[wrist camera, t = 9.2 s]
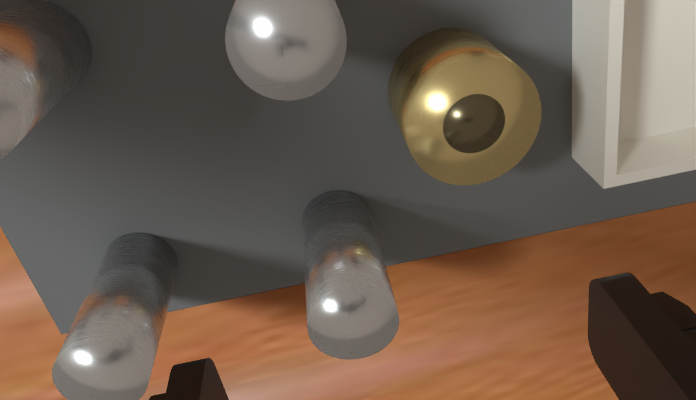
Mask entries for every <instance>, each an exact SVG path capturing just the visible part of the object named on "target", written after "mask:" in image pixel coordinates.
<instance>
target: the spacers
mask: <svg viewBox="0 0 696 400" xmlns="http://www.w3.org/2000/svg"><path fill="white" fill-rule="evenodd" d="M225 44H226V51H227V55H228V58H229V61H230V63H231V65H232V67H233V69H234V71H235V72H236V74H237V75H238V77H239V78H240V79H241V80H242V81H243V82H244V83H245V84H246V85H247V86H248V87H249V88H251V89H252V90H254V91H255V92H257V93H259V94H261V95H263V96H266V97H268V98H272V99H276V100H284V101H292V100H299V99H303V98H307V97H309V96H312V95H314V94H316V93H318V92H319V91H321V90H322V89H324V88H325V87H326V86H327V85H328V84H329V83H330V82H331V81H332V80H333V79H334V78H335V76H336V75H337V73H338V72H339V70H340V68H341V66H342V64H343V61H344V58H345V54H346V47H347V36H346V29H345V25H344V22H343V19H342V17H341V14H340V12H339V9H338V7H337V4H336V2H335V0H235V2H234V5H233V8H232V10H231V13H230V16H229V19H228V22H227V26H226V32H225ZM91 58H92V47H91V42H90V39H89V36H88V34H87V32H86V30H85V28H84V27H83V25H82V24H81V23H80V21H79V20H78V19H77V18H76V17H75V16H74V15H73V14H71V13H70V12H69V11H67V10H66V9H64V8H63V7H61V6H59V5H56V4H54V3H51V2H47V1H41V0H31V1H25V2H22V3H19V4H17V5H15V6H13V7H11V8H9V9H7V10H5V11H3V12H2V13H0V160H1V159H3V158H4V157H5V156H6V155H8V154H9V153H10V152H11V151H12V150H13V149H14V148H15V146H16V145H17V144H18V143H19V142H20V141H21V140H22V139H23V138H24V137H25V136H26V135H27V134H28V133H29V132H30V131H31V130H32V129H33V128H34V127H35V126H36V125H37V124H38V123H39V121H40V120H41V119H42V118H43V117H44V116H45V115H46V114H47V113H48V112H49V111H50V110H51V109H52V108H53V107H54V106H55V105H56V104H57V103H58V102H59V101H60V100H61V99H62V97H63V96H64V95H65V94H66V93H67V92H68V91H69V90H70V89H71V88H72V87H73V86H74V85H75V84H76V83H77V82H78V81H79V80H80V79H81V78H82V77H83V75H84V74H85V73H86V72H87V70H88V68H89V66H90V63H91ZM302 237H303V255H304V273H305V290H306V308H307V326H308V334H309V337H310V339H311V341H312V343H313V344H314V345H315V346H316V347H317V348H318V349H319V350H320V351H322V352H323V353H325V354H327V355H329V356H332V357H335V358H339V359H359V358H364V357H368V356H370V355H373V354H375V353H377V352H379V351H380V350H382V349H383V348H385V347H386V346H387V345H388V344H389V343H390V342H391V341H392V339H393V338H394V336H395V335H396V333H397V330H398V326H399V315H398V311H397V307H396V303H395V300H394V296H393V292H392V288H391V284H390V280H389V277H388V273H387V269H386V265H385V261H384V257H383V254H382V250H381V246H380V242H379V238H378V235H377V231H376V227H375V223H374V219H373V215H372V212H371V209H370V207H369V205H368V203H367V202H366V201H365V200H364V199H363V198H362V197H360V196H359V195H357V194H355V193H353V192H350V191H345V190H332V191H328V192H325V193H322V194H320V195H318V196H317V197H315V198H314V199H313V200H312V201H310V203H309V204H308V205H307V207H306V208H305V210H304V212H303V216H302ZM177 271H178V258H177V255H176V253H175V251H174V249H173V248H172V247H171V246H170V245H169V244H168V243H167V242H166V241H165V240H163V239H161V238H160V237H158V236H155V235H152V234H149V233H142V232H134V233H128V234H124V235H122V236H120V237H118V238H116V239H115V240H114V241H113V242H112V243H111V244H110V245H109V246H108V248H107V250H106V252H105V255H104V257H103V259H102V261H101V263H100V265H99V268H98V270H97V272H96V274H95V276H94V278H93V281H92V283H91V285H90V287H89V289H88V291H87V294H86V296H85V298H84V300H83V302H82V305H81V307H80V309H79V311H78V313H77V315H76V318H75V320H74V322H73V324H72V326H71V328H70V331H69V333H68V335H67V337H66V339H65V341H64V344H63V346H62V348H61V350H60V352H59V355H58V357H57V359H56V361H55V363H54V365H53V369H52V378H53V381H54V384H55V386H56V388H57V389H58V391H59V392H60V393H61V394H62V395H63V396H64V397H66V398H67V399H68V400H139V399H140V398H141V397H142V396H143V394H144V393H145V391H146V389H147V386H148V383H149V379H150V375H151V371H152V367H153V364H154V360H155V356H156V352H157V348H158V344H159V341H160V337H161V333H162V329H163V325H164V321H165V317H166V314H167V310H168V306H169V302H170V298H171V294H172V290H173V287H174V283H175V279H176V275H177Z"/></svg>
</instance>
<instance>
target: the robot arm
mask: <svg viewBox="0 0 696 400" xmlns="http://www.w3.org/2000/svg"><path fill="white" fill-rule="evenodd" d="M588 340H589V345H590V349H591V352H592V355H593V357H594V360H595V362H596V364H597V365H598V367H599V369H600V370H601V372H602V373H603V375H604V376H605V378H606V380H607V381H608V383H609V384H610V386H611V387H612V389H613V391H614V392H615V394H616V395H617V397H618V398H619V400H696V314H695V313H694V312H693V311H692V310H691V309H690V308H689V307H688V306H687V305H685V304H684V303H682V302H680V301H678V300H676V299H675V298H673V297H671V296H669V295H668V294H666V293H664V292H659V293H654V294H650V293H649V292H648V291H647V290H646V289H645V288H644V286H643V285H642V284H641V283H640V282H639V281H638V279H637V278H636V277H635V276H634V275H633V274H631V273H623V274H618V275H613V276H608V277H603V278H599V279H594V280H592V281H591V282H590V285H589V312H588ZM149 400H229V399H228V396H227V394H226V392H225V389H224V387H223V384H222V382H221V379H220V377H219V374H218V372H217V369H216V367H215V365H214V362H213V361H212V360H211V359H210V358H206V359H201V360H196V361H192V362H187V363H182V364H177V365H174V366H173V367H172V369H171V372H170V377H169V381H168V386H167V390H166V393H164V394H159V395H154V396H151V397H150V399H149Z"/></svg>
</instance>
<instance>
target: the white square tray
mask: <svg viewBox="0 0 696 400" xmlns="http://www.w3.org/2000/svg"><path fill="white" fill-rule="evenodd" d="M572 158H573V159H574V160H575V161H576V162H577V163H578V164H579V165H580V166H581V167H582V168H583V169H584V170H585V171H586V172H587V173H588V174H589V175H590V176H591V177H592V178H593V179H594V180H595V181H596V182H597V183H598V184H599V185H600V186H601V187H602V188H603V189H606V188H611V187H615V186H620V185H625V184H630V183H634V182H639V181H644V180H649V179H653V178H658V177H663V176H668V175H672V174H677V173H682V172H687V171H692V170H696V0H572Z"/></svg>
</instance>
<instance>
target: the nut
mask: <svg viewBox="0 0 696 400" xmlns="http://www.w3.org/2000/svg"><path fill="white" fill-rule="evenodd" d="M388 99H389V104H390V108H391V110H392V113H393V115H394V117H395V120H396V122H397V124H398V126H399V128H400V131H401V133H402V135H403V137H404V139H405V142H406V144H407V146H408V148H409V150H410V153H411V154H412V156H413V158H414V160H415V161H416V163H417V164H418V165H419V166H420V167H421V168H422V170H423V171H425V172H426V173H427V174H429V175H430V176H431V177H433V178H435V179H437V180H439V181H442V182H445V183H449V184H453V185H475V184H480V183H484V182H487V181H490V180H493V179H495V178H497V177H499V176H501V175H503V174H504V173H506V172H508V171H509V170H510V169H512V168H513V167H514V166H515V165H517V164H518V163H519V162H520V161H521V160H522V159H523V157H524V156H525V155H526V154H527V152H528V151H529V149H530V148H531V146H532V145H533V143H534V141H535V138H536V136H537V133H538V131H539V127H540V122H541V112H542V111H541V101H540V96H539V93H538V91H537V88H536V86H535V84H534V82H533V81H532V79H531V78H530V77H529V76H528V74H527V73H526V72H525V71H523V70H522V69H521V68H520V67H519V66H518V65H516V64H515V63H514V62H513V61H512V60H510V59H509V58H508V57H507V56H506V55H504V54H503V53H502V52H501V51H500V50H498V49H497V48H496V47H495V46H494V45H492V44H491V43H490V42H489V41H488V40H486V39H485V38H484V37H482V36H481V35H479V34H477V33H475V32H473V31H470V30H466V29H461V28H444V29H439V30H435V31H432V32H429V33H427V34H425V35H423V36H421V37H419V38H418V39H416V40H415V41H414V42H412V43H411V44H410V45H409V46H408V47H407V48H406V49H405V50H404V51H403V52H402V53H401V55H400V56H399V58H398V59H397V61H396V63H395V65H394V67H393V69H392V72H391V75H390V78H389V83H388Z"/></svg>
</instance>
